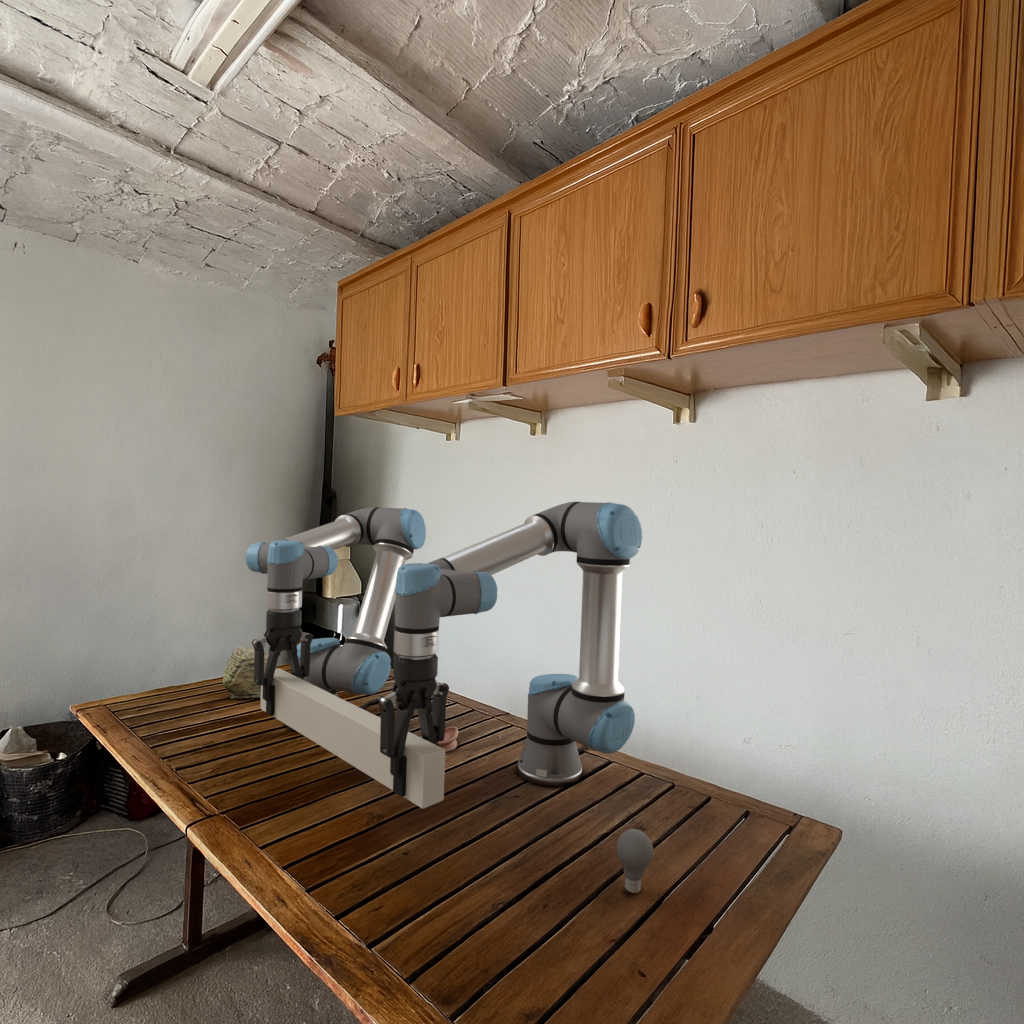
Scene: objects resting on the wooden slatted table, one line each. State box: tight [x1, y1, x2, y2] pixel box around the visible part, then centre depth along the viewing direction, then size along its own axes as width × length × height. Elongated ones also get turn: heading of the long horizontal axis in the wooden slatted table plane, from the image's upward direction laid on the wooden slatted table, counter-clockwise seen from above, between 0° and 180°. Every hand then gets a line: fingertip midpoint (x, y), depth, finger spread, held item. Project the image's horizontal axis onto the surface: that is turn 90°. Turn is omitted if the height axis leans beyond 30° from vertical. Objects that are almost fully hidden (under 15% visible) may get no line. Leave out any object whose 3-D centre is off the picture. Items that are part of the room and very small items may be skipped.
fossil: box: [222, 646, 279, 699], centre depth 198 cm, size 9×18×15 cm, turn 132°
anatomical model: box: [419, 726, 459, 753], centre depth 163 cm, size 13×4×12 cm
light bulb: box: [615, 828, 654, 894], centre depth 106 cm, size 6×6×10 cm
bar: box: [259, 668, 446, 810], centre depth 126 cm, size 61×4×9 cm, turn 46°
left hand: (281, 711), depth 144 cm, fingers closed on bar, 4 cm apart
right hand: (411, 788), depth 109 cm, fingers closed on bar, 4 cm apart
